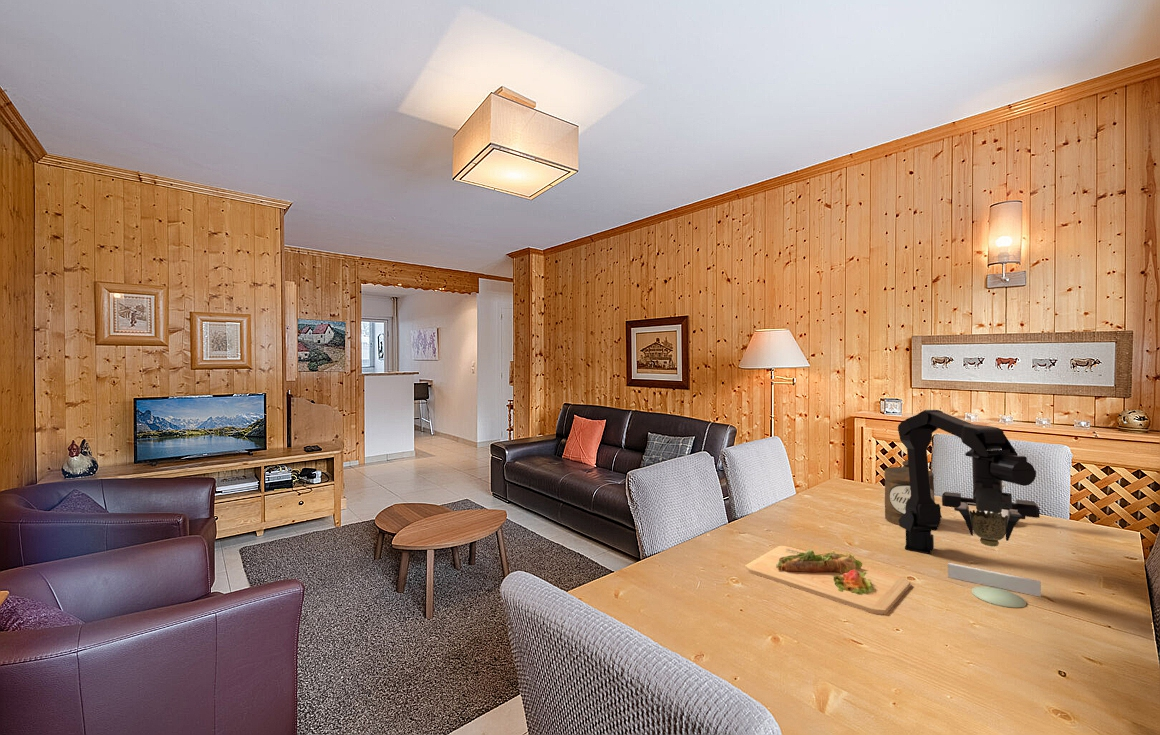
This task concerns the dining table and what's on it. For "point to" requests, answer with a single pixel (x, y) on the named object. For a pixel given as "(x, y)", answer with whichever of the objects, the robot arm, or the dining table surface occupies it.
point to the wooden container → (899, 491)
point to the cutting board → (831, 577)
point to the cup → (989, 526)
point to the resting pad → (999, 597)
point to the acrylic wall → (995, 579)
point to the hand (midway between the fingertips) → (989, 537)
